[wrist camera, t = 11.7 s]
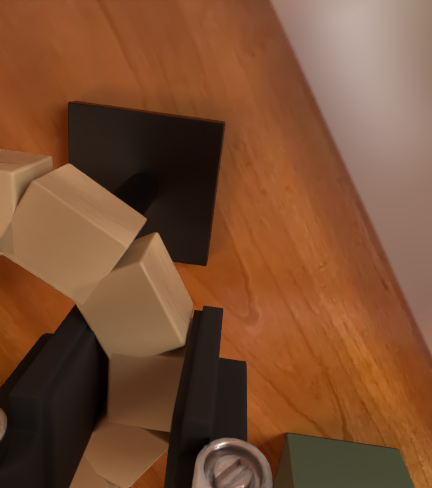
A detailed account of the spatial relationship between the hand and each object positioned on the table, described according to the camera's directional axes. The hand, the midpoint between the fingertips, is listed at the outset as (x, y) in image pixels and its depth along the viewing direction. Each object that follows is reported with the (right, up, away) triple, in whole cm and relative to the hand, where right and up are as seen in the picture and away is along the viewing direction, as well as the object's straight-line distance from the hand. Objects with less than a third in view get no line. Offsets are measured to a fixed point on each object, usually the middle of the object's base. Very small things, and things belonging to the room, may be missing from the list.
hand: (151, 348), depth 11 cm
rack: (-3, +7, +15) cm, 17 cm away
